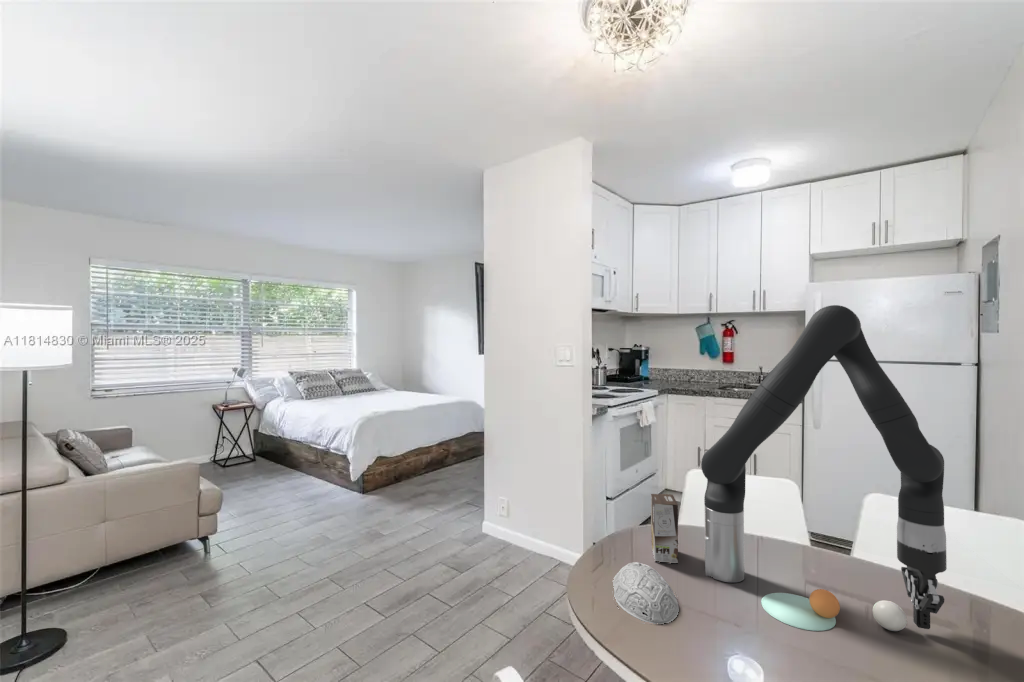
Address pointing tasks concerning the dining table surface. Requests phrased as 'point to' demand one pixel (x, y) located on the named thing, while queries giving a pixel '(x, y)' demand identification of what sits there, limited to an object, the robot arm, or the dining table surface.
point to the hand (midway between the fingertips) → (921, 626)
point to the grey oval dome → (645, 594)
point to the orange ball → (824, 603)
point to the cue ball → (889, 615)
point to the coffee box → (664, 527)
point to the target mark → (795, 612)
